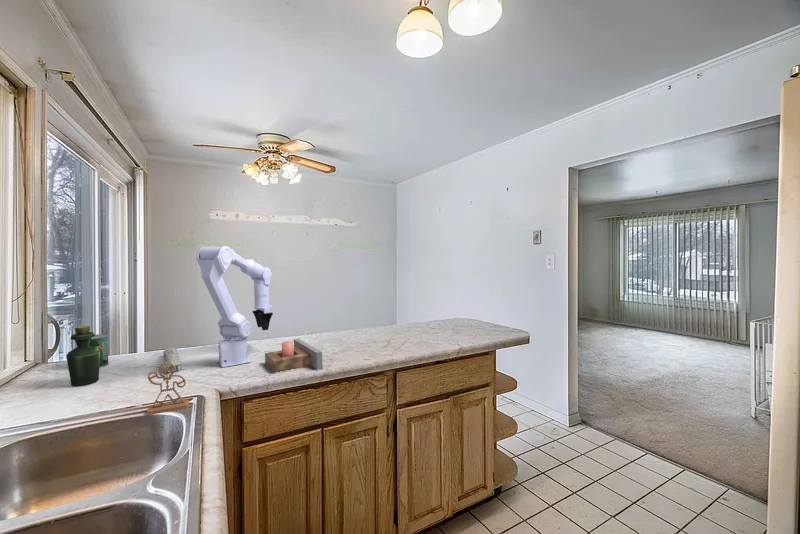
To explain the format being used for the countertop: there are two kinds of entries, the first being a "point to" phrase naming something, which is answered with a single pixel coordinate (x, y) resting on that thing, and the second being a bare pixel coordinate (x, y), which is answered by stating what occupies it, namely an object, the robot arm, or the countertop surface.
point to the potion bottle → (83, 358)
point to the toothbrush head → (172, 359)
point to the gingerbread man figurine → (167, 406)
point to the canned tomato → (101, 347)
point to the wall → (315, 353)
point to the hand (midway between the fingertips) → (262, 328)
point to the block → (287, 360)
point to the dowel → (287, 349)
